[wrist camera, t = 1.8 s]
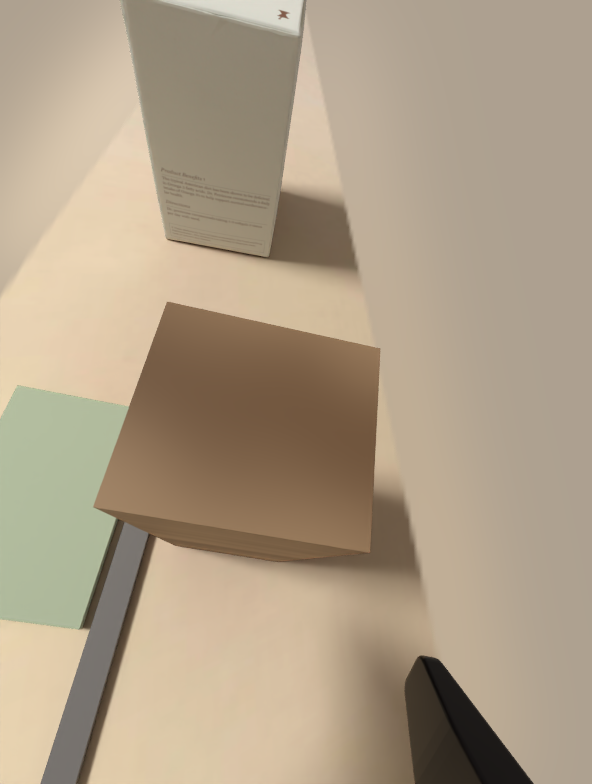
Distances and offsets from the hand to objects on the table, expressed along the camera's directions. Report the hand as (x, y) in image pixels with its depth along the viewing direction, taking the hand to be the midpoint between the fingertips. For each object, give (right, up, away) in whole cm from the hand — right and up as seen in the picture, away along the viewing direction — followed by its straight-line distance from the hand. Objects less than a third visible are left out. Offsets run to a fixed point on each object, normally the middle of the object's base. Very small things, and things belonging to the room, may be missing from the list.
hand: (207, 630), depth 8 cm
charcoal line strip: (-5, 0, +11) cm, 12 cm away
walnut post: (-1, -1, +12) cm, 12 cm away
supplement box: (-3, +18, +20) cm, 27 cm away
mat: (-10, 0, +10) cm, 14 cm away
